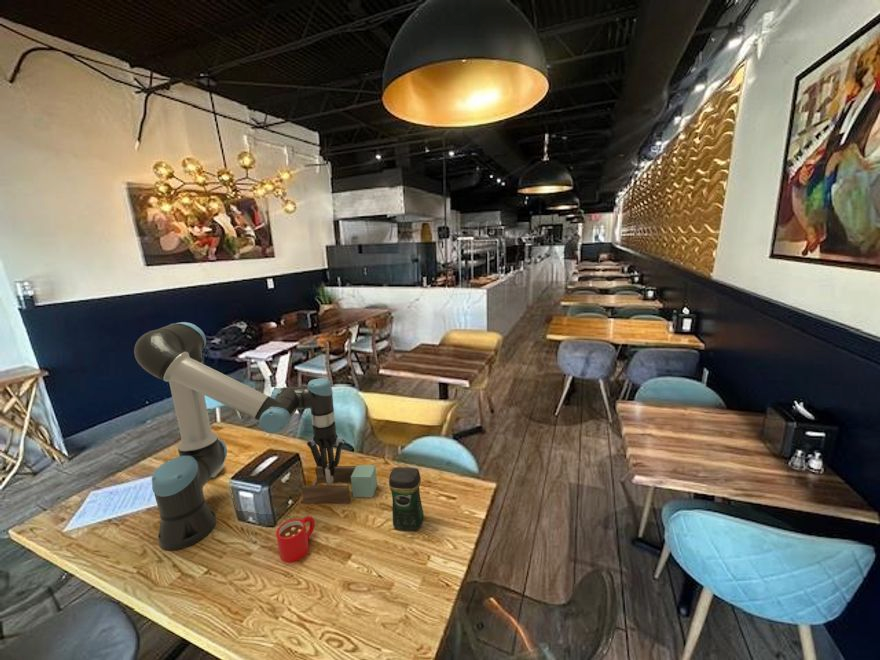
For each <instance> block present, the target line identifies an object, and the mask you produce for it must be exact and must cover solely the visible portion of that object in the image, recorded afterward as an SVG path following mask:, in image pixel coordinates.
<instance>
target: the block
mask: <svg viewBox="0 0 880 660" xmlns="http://www.w3.org/2000/svg"><path fill="white" fill-rule="evenodd" d="M355 466H356V467H355V469H354V472H353V474H352V476H351V482H350V483H351V489H352V490H351V492H352V498H373V496H374V495H375V492H376V489H377V486H378V479H377V478H378V477H377V469H376V468H377V467H376V465H374V464H373V465H372V464H371V465H370V464H369V465H367V464H365V465H363V464H361V465H359V464H358V465H355Z"/></svg>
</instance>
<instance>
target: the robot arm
mask: <svg viewBox="0 0 880 660" xmlns="http://www.w3.org/2000/svg"><path fill="white" fill-rule="evenodd" d="M206 345H207V338H206V335H205V333H204V331H203V330H202V329H201V328H200V327H198V326H197V325H195V324H194V323H191V322H186V321H184V322H183V321H182V322H175V323H170V324H168V325H166V326H163V327H162V326H161V327H160V328H158V329H154V330H149V331H148V332H146V333H144V334H142V335H141V336H140V337H139V338H138V339H137V341H136V342H135V345H134V349H133V354H134V358H135V360H136V362H137V363H138V365H139V366H140V367H141V368H142V369H144V370H145V372H147V373H149V374H150V375H152V376H153V377H155V378H157V379H160V380H162V381H163V382H167V383H169V387H170V393H171V397H172V402H173V407H174V411H175V414H176V420H177V424H178V429H179V433H180V439H181V441H180V442H179V443H178V444H177V450H178V456H177V457H174V458H171V459H169V461H165V462H163V463H162V464H160V466H158V467H157V468H156V469H155V470H154V472H153V474H152V476H151V484H152V486H151V487H152V491H153V493H154V498H155V500H156V505H157V510H158V513H159V517H160V524H159V530H158V531H159V532H158V535H157V537H158V538H157V539H158V543H159V546H160V548H161V549H163V550H165V551H176V550H181V549H184V548H189V547H190V546H192V545H195V544H196V543H198V542H199V541H202V540H203V539H204V538H206V536H208V535H209V534H210V533H211V532H212V531H213V530H214V528H215V526H216V524H217V518H216V514H215V512H214V511H213V510H212V509H211V508H210V506H209V505H208V503H207V502H206V500H205V494H204V489H203V488H204V486H205V485H206V484H207V483H208V482H209V480H210V479H211V478H212V476H213V475H214V473H215V472H216V471H217V470H218V469H219V468H220V467H221V466H222V464H223V462H224V463H225V461H226V459H227V455H228V449H227V448H228V447H227V445H226V443H225V442H224V440H221V438H219V436H218V434H217V433H215V432H213V431H212V427H211V423H210V417H209V413H208V408H207V402H206V398H205V397H208V398H209V399H212V400H214V401H216V402H219V403H221V404H223V405H225V406H227V407H228V408H231V409H234V410H235V411H237V412H240V413H242V414H244V415H246V416H248V417H250V418H253V419H254V420H256V421H258V423H259V427H260V428H261V429H262V430H263V432H265V433H268V434H277V433H281V431H283V430H284V429H285V428H286V427H287V425H288V424H289V423H290V421H291V419H292V417H293V416H294V415H295V413H296V412H297V410H307V409H310V414H311V424H312V432H313V433H312V434H313V437H312V438H310V439H309V440H308V441H307V443H306V445H307V446H308V448H309V449H310V451H311V454H312V457H313V460H314V462H315V465H316V466H318V467H319V466H320V467H322V468H323V475H324V476H326V482H325V483H326V485H333V483H334V482H333V475H334V474H335V467H337V466H339V463H340V460H341V455H342V448H343V444H344V443H345V439H343V438H342V439H341V438H339V436H338V435H337V429H336V428H337V427H336V426H337V425H336V421H335V420H336V419H335V418H336V417H335V407H334V397H333V394H334V393H333V392H334V391H333V389H332V382H331V380H330V379H328V378H325V377H319V378H315V379H311V380H310V381H309V382H307V383H308V384H307V386H292V387H289V386H284V387H280V388H279V387H278V388H274V389H273V390H272V391H271V394H270V396H269V395H267V394H265V393H263V392H261V391H259V390H256V389H255V388H253V387H251V386H249V385H247V384H245V383H243V382H241V381H239V380H237V379H235V378H232V377H230V376H228V375H226V374H224V373H222V372H220V371H218V370H216V369H214V368H212V367H210V366H208V365H206V364H204V359H203V353H202V352H203V350H204V349H205V347H206ZM335 443H336V448H335V455H334V445H335Z"/></svg>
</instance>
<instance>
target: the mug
mask: <svg viewBox="0 0 880 660" xmlns="http://www.w3.org/2000/svg"><path fill="white" fill-rule="evenodd" d="M307 522H309V527H308V530H307V528H306V527H307V526H306V523H307ZM314 530H315V519H314V518H313V516H310V515H309V516H305V517H304V518H292V519H289V520H286V521H285V522H283V523H282V524H280V525H279V526H278V528H277V529H276V532H275V535H276V540H277V546H278V552H279V557H280V560H281V561H282V562H284V563H290V564H291V563H294V562H298V561H299V560H301V559H302V558H304V557H305V556H306V554H308V552H309V548H310V546H309V541H308V540H309V539H310V537H311V536H312V535H313V532H314Z"/></svg>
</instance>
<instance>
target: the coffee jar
mask: <svg viewBox="0 0 880 660" xmlns="http://www.w3.org/2000/svg"><path fill="white" fill-rule="evenodd" d="M420 474H421V473H420V470H419V469H418V468H416V467H408V466H406V467H405V466H403V467H402V466H399V467H398V466H397V467H393V468H392V470H391V471H390V473H389V478H388V487H389V489H390V492H391V498H392V514H391V515H392V525H393V527H394V529H397V530H401V531H402V530H403V531H417V530H418V529H420V528H421V527H422V525H423V522H424V518H425V517H424V516H425V515H424V509H423V505H422V501H421V500H422V499H421V493H420V487H421V482H422V478H421V475H420Z"/></svg>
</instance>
